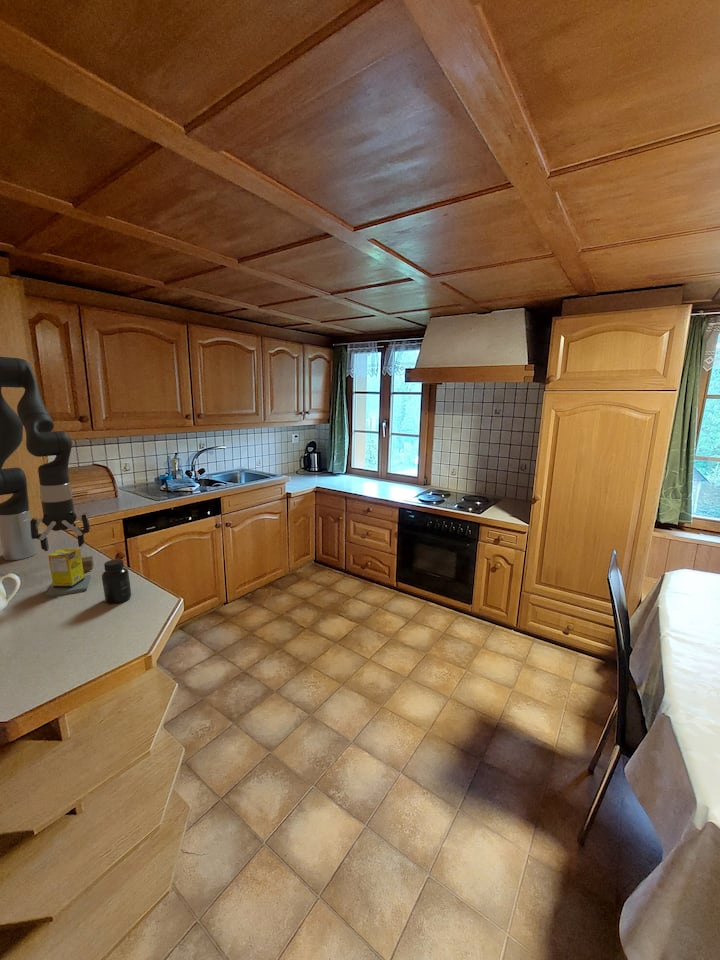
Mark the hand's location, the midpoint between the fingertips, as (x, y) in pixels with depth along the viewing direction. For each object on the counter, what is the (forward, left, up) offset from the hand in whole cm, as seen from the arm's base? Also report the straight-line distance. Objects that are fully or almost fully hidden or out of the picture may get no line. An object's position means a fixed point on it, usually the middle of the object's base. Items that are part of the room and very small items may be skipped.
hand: (63, 548), depth 121 cm
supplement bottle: (+15, +14, -13) cm, 25 cm away
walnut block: (-13, +3, -13) cm, 19 cm away
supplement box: (0, 0, -12) cm, 12 cm away
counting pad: (0, 0, -13) cm, 13 cm away
